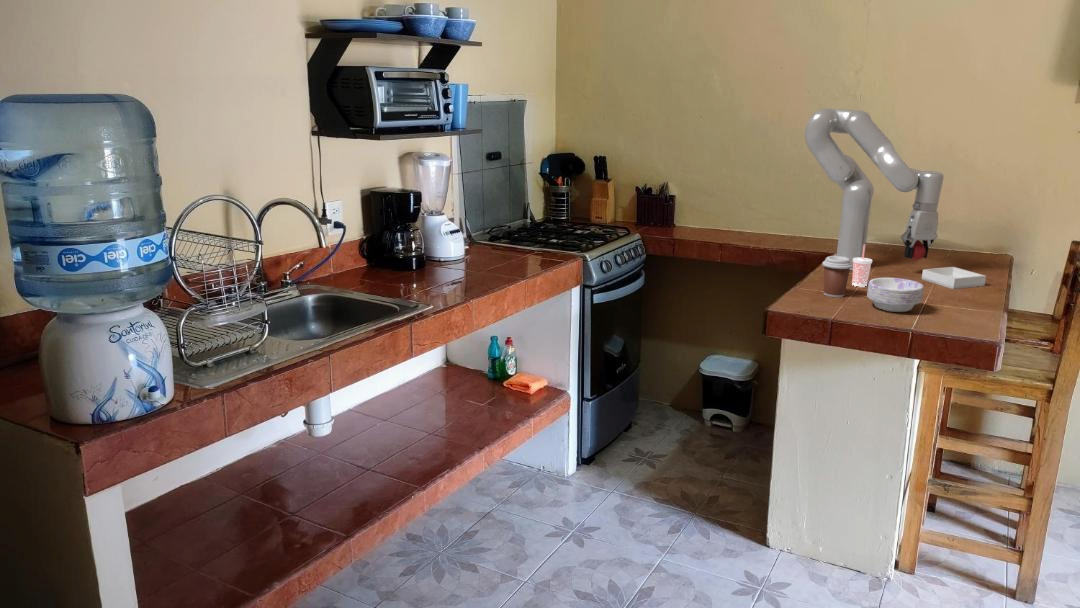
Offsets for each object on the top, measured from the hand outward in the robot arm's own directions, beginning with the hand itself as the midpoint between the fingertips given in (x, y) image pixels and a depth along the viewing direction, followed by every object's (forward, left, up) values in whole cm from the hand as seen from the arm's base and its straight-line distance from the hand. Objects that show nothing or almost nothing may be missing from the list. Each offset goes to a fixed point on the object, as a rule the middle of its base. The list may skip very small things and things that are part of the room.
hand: (915, 256), depth 275 cm
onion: (0, 0, -2) cm, 2 cm away
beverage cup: (-30, -8, -6) cm, 32 cm away
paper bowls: (-39, -33, -6) cm, 51 cm away
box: (+3, -14, -6) cm, 16 cm away
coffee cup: (-46, -15, -6) cm, 49 cm away
